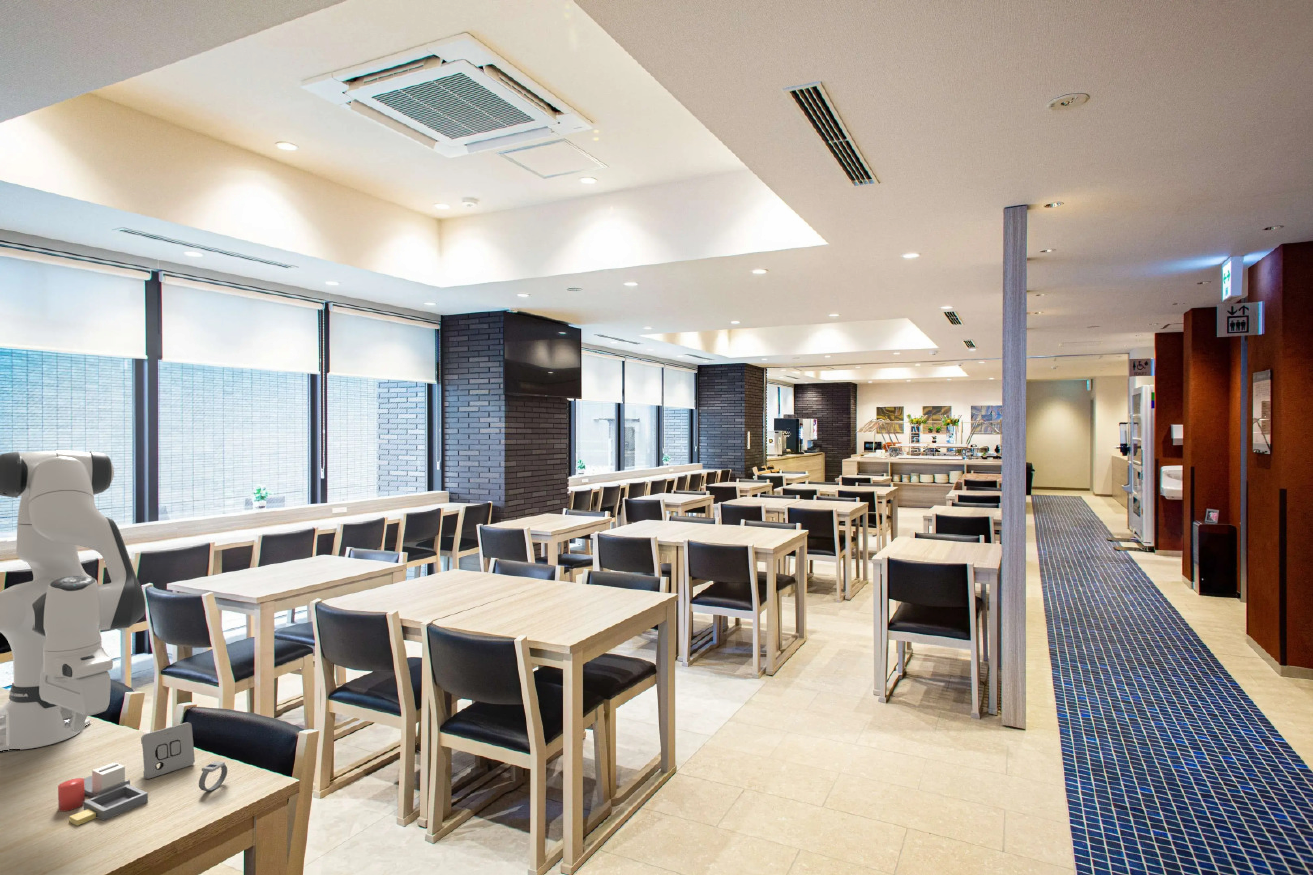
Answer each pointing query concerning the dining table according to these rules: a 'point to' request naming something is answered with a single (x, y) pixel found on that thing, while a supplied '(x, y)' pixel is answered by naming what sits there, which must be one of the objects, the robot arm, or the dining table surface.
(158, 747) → the electrical switch
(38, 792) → the dining table surface
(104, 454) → the robot arm
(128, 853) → the dining table surface
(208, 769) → the wristwatch
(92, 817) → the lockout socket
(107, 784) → the white slotted block
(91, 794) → the rail
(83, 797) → the cap
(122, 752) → the dining table surface
